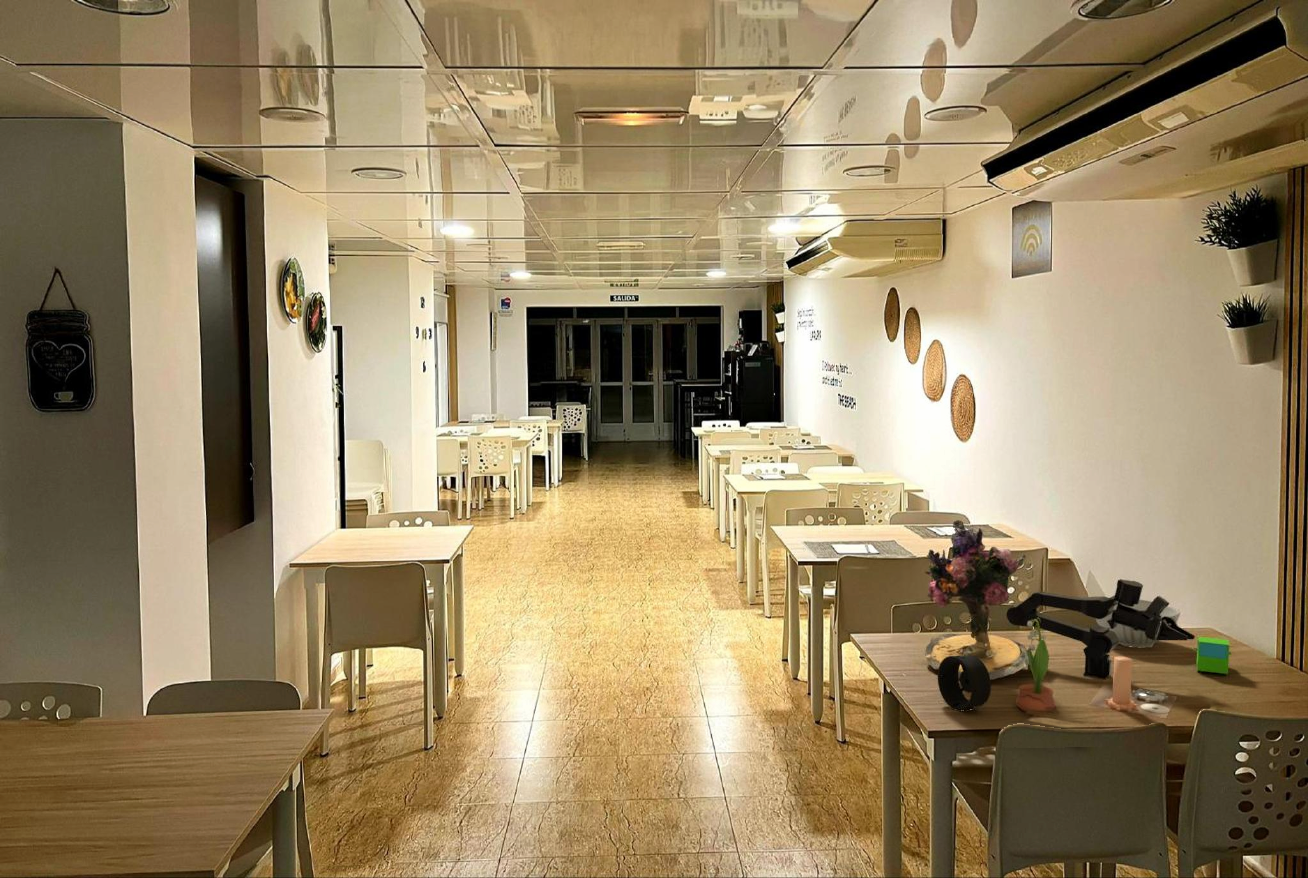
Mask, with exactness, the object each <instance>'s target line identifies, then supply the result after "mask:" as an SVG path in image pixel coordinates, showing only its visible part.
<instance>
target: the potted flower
mask: <svg viewBox="0 0 1308 878" xmlns="http://www.w3.org/2000/svg"><path fill="white" fill-rule="evenodd" d="M1037 619H1039V618H1037ZM1039 620H1040V619H1039ZM1032 621H1033V623H1032ZM1032 621H1028V624H1027V626H1028V625H1029V627H1030V626H1032V627H1030V628H1031V631H1030V632H1029V633H1028V635H1027V638H1026V639H1027V640H1031V643H1030V645H1028V649H1027V650H1028V660H1029V665H1030V668H1031V670H1030V671H1031V673H1032V676H1033V679H1034V682H1033V683H1034V684H1032V683H1030V684H1023V685H1022V684H1021V685H1020V686H1019V687H1018V693H1017V696H1016V699H1015V703H1016V705H1017V707H1018V709H1020V710H1022V711H1023V712H1028V711H1029V710H1030V711H1037V712H1047V711H1048V712H1049V711H1052V710H1054V709H1055V708H1056V701H1055V699H1054V697H1053V695H1054V690H1053V689H1052V688H1050V687H1048V686H1044V685H1042V682H1043V680H1044V677H1045V676H1046V673H1047V672H1048V669H1049V659H1050V655H1049V650H1048V648H1047V644H1046V641H1045V640H1047V634H1046V633H1044V632H1045V630H1044V629H1041V628H1040V626H1039V622H1038V621H1037V620H1036V619H1034V620H1032ZM1035 621H1036V622H1037V624H1036V626H1038V627H1033V624H1034V622H1035ZM1037 637H1038V638H1037ZM1034 640H1036V641H1038V644H1037V647H1036V646H1035V645H1034V644H1032V643H1033V641H1034ZM1033 651H1035V653H1034V655H1033Z"/></svg>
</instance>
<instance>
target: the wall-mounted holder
mask: <svg viewBox="0 0 1308 878" xmlns="http://www.w3.org/2000/svg"><path fill="white" fill-rule="evenodd" d="M960 664H961V666H962V669H963V671H962V673H961V675H960V678H958V672H959V667H960ZM991 682H992V681H991V680H990V676H989V673H988V670H987V668H986V666H985V665H984V663H983V662H982V661H981V660H980V659H979V658H977V657H976V656H973V655H965V656H948V657H946V658H945V659H943V661H942V662H941V664H940V666H939V669H937V685H938V690H939V692H940V695H941V697H942V699H943V700H944V702H945V703H946V704H947V705H948V707H950V708H951V709H952V708H953V709H952V710H954V709H956V710H955V711H957V710H958V711H957V712H962V711H961V710H964V711H963V712H967V711H966V710H970V709H973V710H975V708H977V707H982V706H983V705H985V704H986V703H987V702H988V700H989V698H990V696H991V692H992V683H991ZM964 692H965V693H968V694H970V696H969V699H968V698H967V697H966V695H965V694H964ZM970 711H971V710H970Z"/></svg>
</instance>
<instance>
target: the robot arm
mask: <svg viewBox="0 0 1308 878" xmlns="http://www.w3.org/2000/svg"><path fill="white" fill-rule="evenodd" d="M1143 588H1144V584H1142V583H1140V582H1138V581H1136V580H1128V579H1122V578H1120V579H1118V580H1117V582H1116V589H1115V592H1114V593H1115V594H1114V595H1112V596H1110V597H1107V596H1101V595H1100V596H1089V597H1088V596H1087V597H1085V596H1083V597H1079V596H1073V595H1066V594H1060V593H1052V592H1046V591H1043V590H1038V591H1035V592H1033V593H1032V594H1031V595H1030V596H1029V597H1028V598H1027V599H1025V600H1024V601H1023V602H1020V603H1018V604H1016V605H1013V606H1012V607H1009V608H1008V609H1007V611H1006V619H1007V621H1008V623H1009V624H1011V625H1012V626H1017V627H1025V628H1027V627H1029V625H1028V626H1027V624H1028V621H1032V620H1034V619H1036V620H1037V621H1038V622H1039V626H1040V629H1042V630H1043V629H1044V631H1047V632H1050V633H1053V634H1057V635H1060V636H1063V637H1066V638H1069V639H1072V640H1076V641H1078V642H1081V643H1082V644H1083V645H1085V646H1086V647H1085V648H1083V649H1082V650H1083V653H1084V657H1085V659H1084V660H1085V661H1084V672H1083V674H1082V675H1083V676H1085V677H1092V678H1098V679H1103V680H1106V679H1107V678H1108V677H1109V676H1110V675H1111V674H1112V659H1111V660H1110V658H1111V657H1110V655H1111V654H1110V653H1111V652H1112V650H1113V649H1115V648H1116V647H1117V646H1118V637H1117V635H1116V633H1115V632H1113V631H1111V630H1109V629H1110V628H1111V629H1113V628H1115V627H1116V626H1117V623H1118V624H1121V625H1123V626H1126V627H1129V628H1132V629H1133V630H1135V631H1141V632H1144V633H1145V635H1146V637H1147V638H1149V639H1152V640H1160V641H1188V640H1195V637H1196V636H1195V635H1194V634H1193V633H1191V632H1189V631H1187V630H1185V629H1184V628H1182V627H1181V626H1179V625H1178V622H1177V623H1176V620H1175V619H1174V618H1172V617H1169V616H1164V617H1162V618H1161V615H1160V614H1161V612H1162V611H1163V610H1164V609H1165V607H1167V606H1168V605H1169V606H1170V602H1169V601H1168V600H1166V599H1165V598H1163V597H1162V596H1160V595H1158V596H1156V597H1155V598H1154V599H1153V600H1152V601H1153V602H1151V604H1150V605H1149V607H1148V608H1147V609H1146V611H1145V610H1143V611H1142V610H1137V609H1134V608H1131V607H1133V606H1134V604H1138V603H1139V600H1141V596H1142V590H1143ZM1117 604H1118V605H1117ZM1122 604H1123V605H1122ZM1115 605H1117V608H1116V610H1113V609H1114V606H1115ZM1125 605H1126V606H1125ZM1041 606H1042V607H1048V608H1056V609H1060V610H1061V609H1062V610H1067V611H1073V612H1074V611H1075V612H1078V613H1081V614H1083V615H1085V616H1087V617H1090V618H1092V619H1093V618H1094V619H1095V618H1096V619H1103V618H1104V617H1106V616H1108V615H1110V614H1111V613H1112V616H1111V619H1109V620H1108V621H1107V622H1108V623H1109V625H1110V628H1105V627H1102V626H1100V625H1099V624H1098V623H1096V624H1094V625H1092V626H1091V627H1090V628H1089V627H1084V626H1082V625H1079V624H1075V623H1073V622H1069V621H1065V620H1063V619H1058V618H1056V617H1053V616H1050V615H1046V614H1043V613H1041V612H1039V611H1038V608H1040V607H1041ZM1128 606H1130V607H1128ZM1037 618H1039V619H1040V620H1039V619H1037ZM1096 619H1095V620H1096ZM1032 623H1033V621H1032ZM1036 624H1037V622H1036V621H1035V622H1034V624H1033V628H1035V627H1036V628H1038V626H1036ZM1030 628H1032V626H1030ZM1155 635H1157V638H1156V637H1155Z"/></svg>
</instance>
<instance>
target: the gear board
mask: <svg viewBox="0 0 1308 878" xmlns="http://www.w3.org/2000/svg"><path fill="white" fill-rule="evenodd" d="M1137 690H1138V689H1132V688H1131V695H1130V701H1134V702H1135V704H1137V709H1133V710H1131V711H1127V710H1120V711H1121V712H1125V713H1132V714H1138V715H1143V716H1149V717H1154V718H1161V719H1167V717H1168V716H1169V714H1170V712H1171V709H1172V708H1173V706H1174V704H1175V702H1176V700H1177V698H1178V696H1174V695H1170V694H1165V696H1168V701H1167V702H1165V701H1164V702H1162V703H1161V704H1159V703H1151V702H1150V703H1146V702H1145V701H1141V700H1136V699H1135V696H1132V692H1133V691H1137ZM1112 696H1113V685H1110V684H1103V685H1102V686H1101V687H1100V689H1099V690H1098V692H1097V693H1096V694H1095V695H1094V697H1093V699H1091V701H1090V703H1088V705H1089V706H1093V707H1099V708H1103V709H1104V708H1105V709H1110V710H1116V709H1114V708H1109V707H1107V704H1106V699H1111V697H1112ZM1116 711H1117V710H1116Z"/></svg>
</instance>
